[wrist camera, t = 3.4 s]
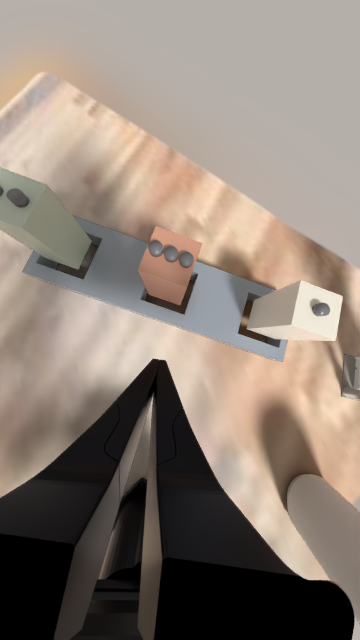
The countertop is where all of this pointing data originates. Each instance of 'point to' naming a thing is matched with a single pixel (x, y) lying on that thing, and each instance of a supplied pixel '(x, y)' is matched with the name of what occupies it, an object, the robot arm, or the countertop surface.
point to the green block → (40, 220)
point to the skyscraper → (351, 377)
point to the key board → (130, 292)
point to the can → (328, 531)
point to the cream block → (297, 313)
